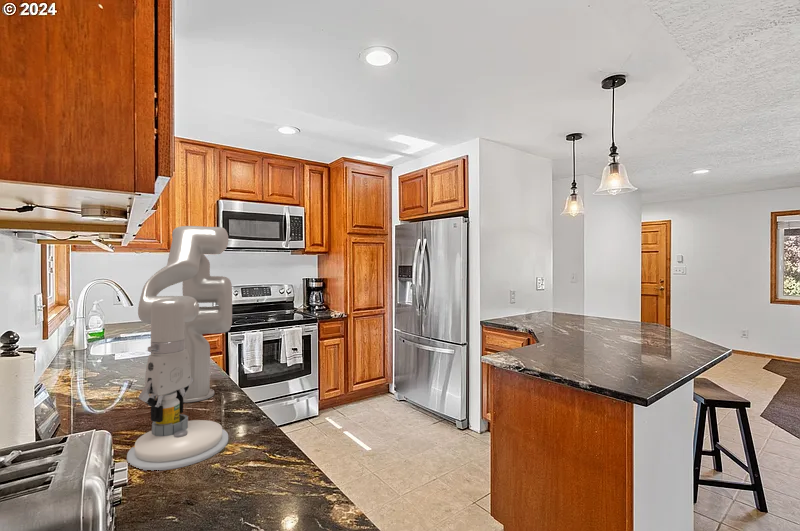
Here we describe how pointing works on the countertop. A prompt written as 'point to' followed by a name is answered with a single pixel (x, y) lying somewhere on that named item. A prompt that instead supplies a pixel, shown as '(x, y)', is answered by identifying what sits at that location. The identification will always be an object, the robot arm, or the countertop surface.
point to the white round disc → (178, 440)
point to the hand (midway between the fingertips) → (167, 415)
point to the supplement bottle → (170, 409)
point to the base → (176, 463)
